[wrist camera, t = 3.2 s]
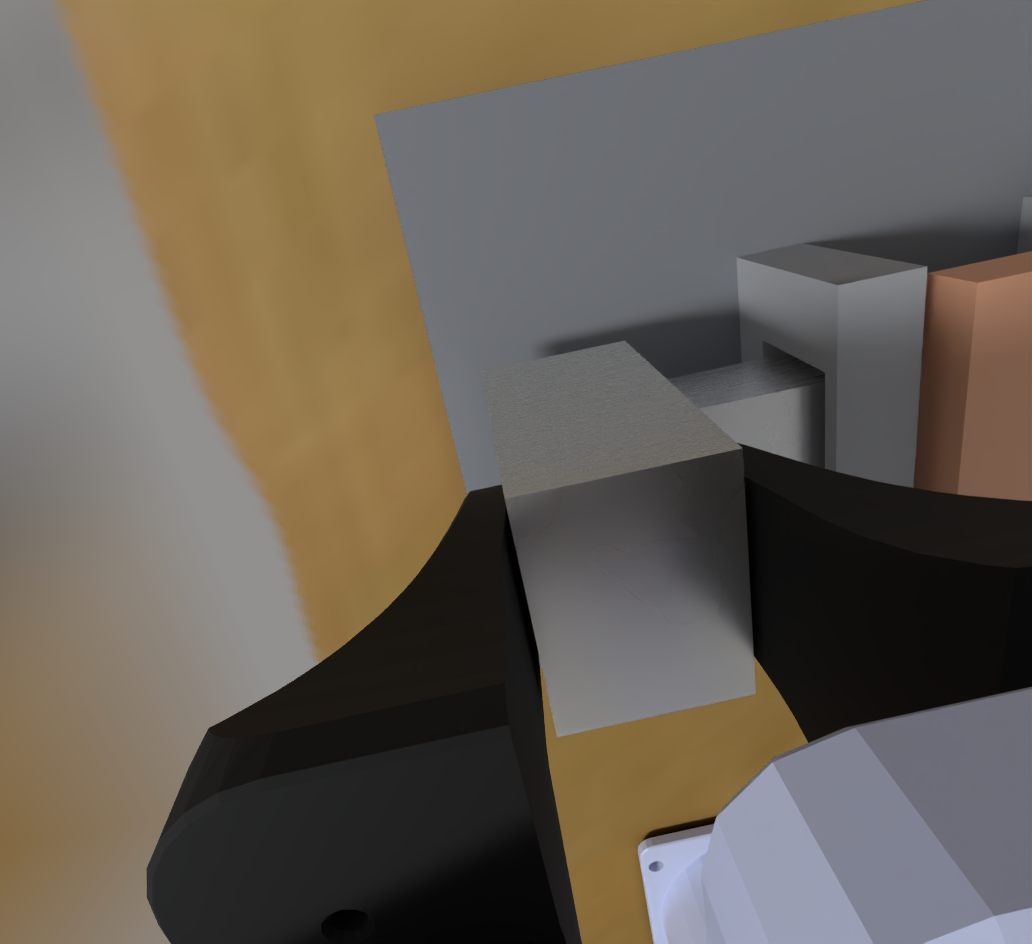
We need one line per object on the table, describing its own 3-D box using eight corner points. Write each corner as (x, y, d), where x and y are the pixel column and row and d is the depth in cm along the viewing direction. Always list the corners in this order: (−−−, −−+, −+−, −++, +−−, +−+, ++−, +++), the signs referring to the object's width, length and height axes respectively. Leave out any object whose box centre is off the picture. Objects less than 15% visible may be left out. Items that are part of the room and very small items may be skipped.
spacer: (1040, 460, 15) (1154, 514, 13) (869, 497, 15) (951, 558, 13) (1076, 220, 13) (1221, 231, 11) (877, 263, 13) (977, 283, 11)
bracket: (1037, 534, 20) (1223, 645, 15) (507, 648, 20) (527, 798, 15) (1125, -36, 14) (1469, -144, 9) (378, 119, 14) (343, 88, 9)
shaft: (1079, 416, 16) (1424, 548, 10) (517, 538, 15) (557, 736, 10) (1110, 237, 14) (1542, 277, 8) (481, 371, 14) (504, 498, 8)
